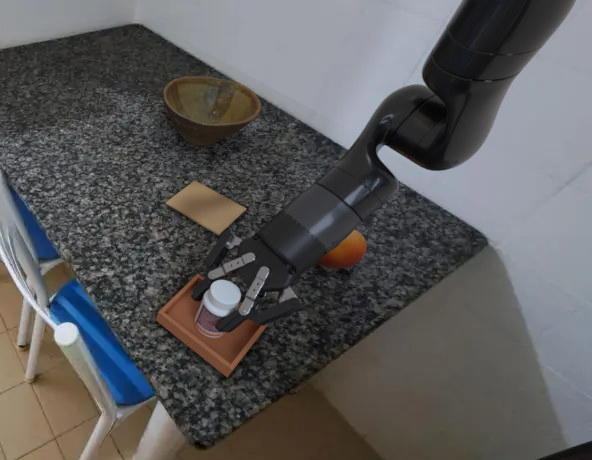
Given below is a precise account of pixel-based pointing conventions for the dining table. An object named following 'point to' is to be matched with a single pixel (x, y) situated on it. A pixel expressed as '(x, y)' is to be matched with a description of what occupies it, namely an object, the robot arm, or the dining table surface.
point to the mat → (206, 207)
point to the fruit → (345, 253)
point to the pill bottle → (216, 307)
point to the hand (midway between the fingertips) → (206, 313)
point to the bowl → (209, 108)
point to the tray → (214, 350)
